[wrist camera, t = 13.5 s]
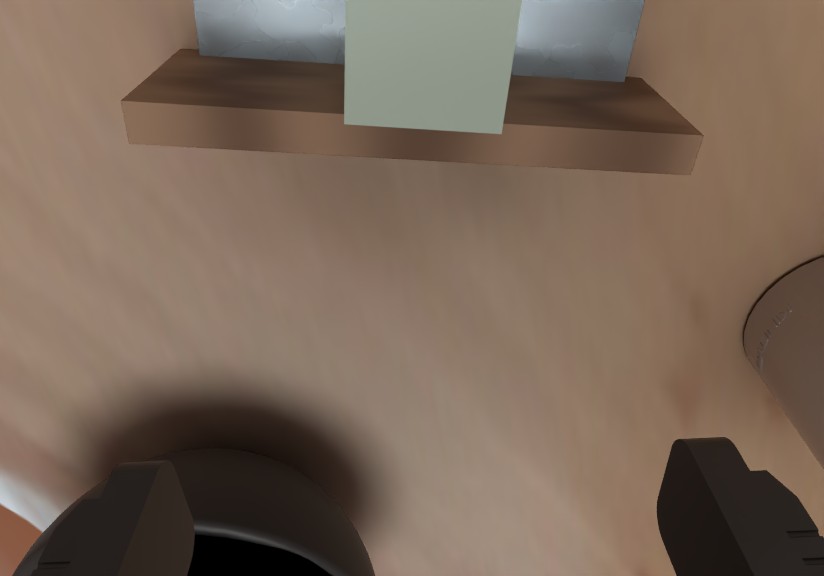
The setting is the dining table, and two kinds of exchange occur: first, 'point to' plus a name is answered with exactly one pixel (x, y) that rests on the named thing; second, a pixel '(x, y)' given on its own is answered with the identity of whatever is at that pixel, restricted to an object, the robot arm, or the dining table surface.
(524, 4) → the dark grey flat slab
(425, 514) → the dining table surface
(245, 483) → the coal bowl
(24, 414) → the dining table surface
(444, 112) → the cabinet
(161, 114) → the wall board
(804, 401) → the robot arm
